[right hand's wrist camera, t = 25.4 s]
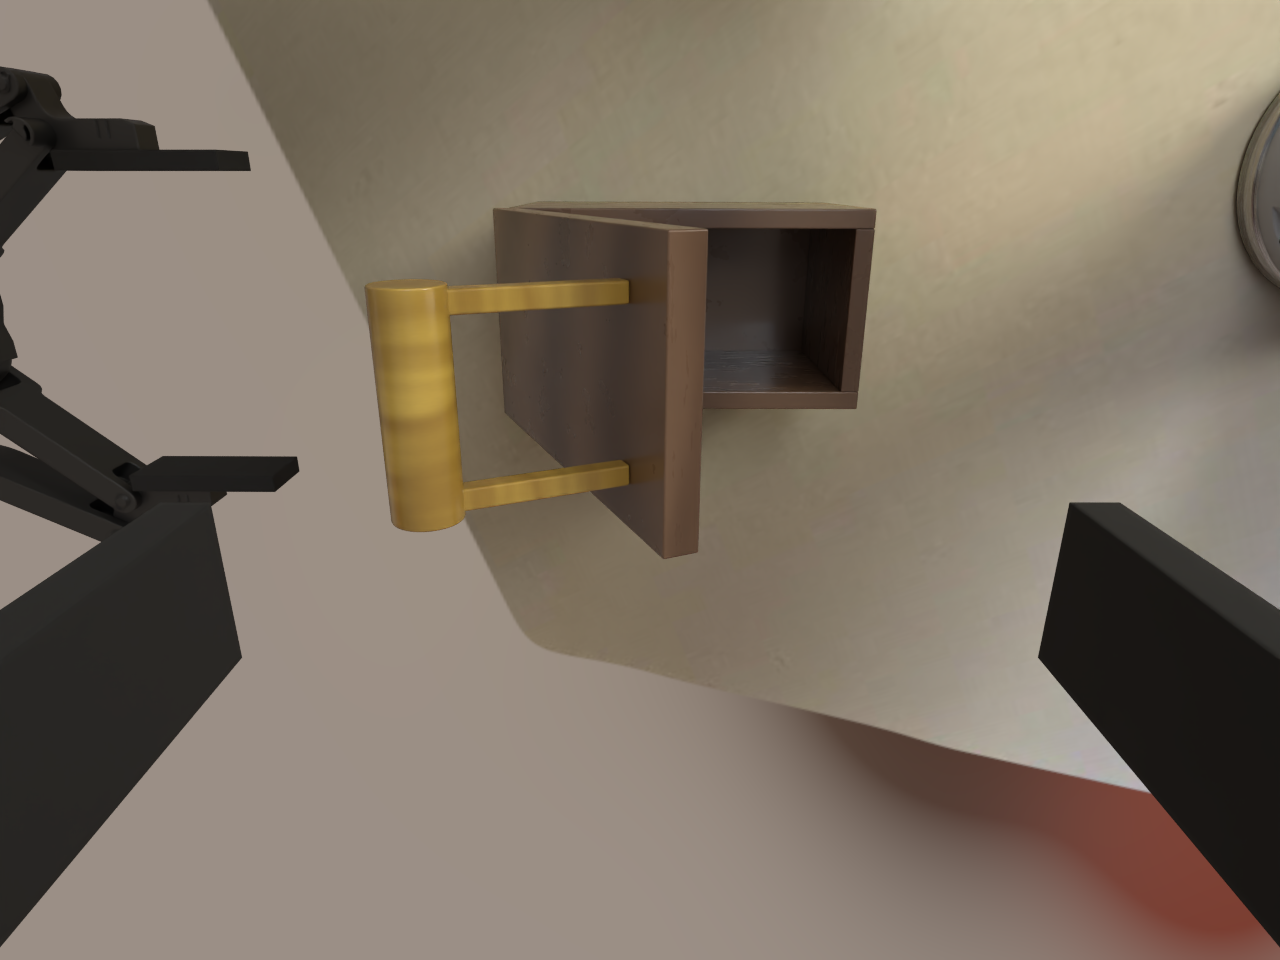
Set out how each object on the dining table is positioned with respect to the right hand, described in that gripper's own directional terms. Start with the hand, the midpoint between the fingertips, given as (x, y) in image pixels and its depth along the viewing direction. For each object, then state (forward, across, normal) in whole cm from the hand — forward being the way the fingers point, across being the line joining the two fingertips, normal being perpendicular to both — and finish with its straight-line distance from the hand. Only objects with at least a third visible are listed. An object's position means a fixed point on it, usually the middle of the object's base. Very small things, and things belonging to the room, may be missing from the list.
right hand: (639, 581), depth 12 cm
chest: (+39, +2, 0) cm, 39 cm away
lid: (+19, -2, 0) cm, 19 cm away
